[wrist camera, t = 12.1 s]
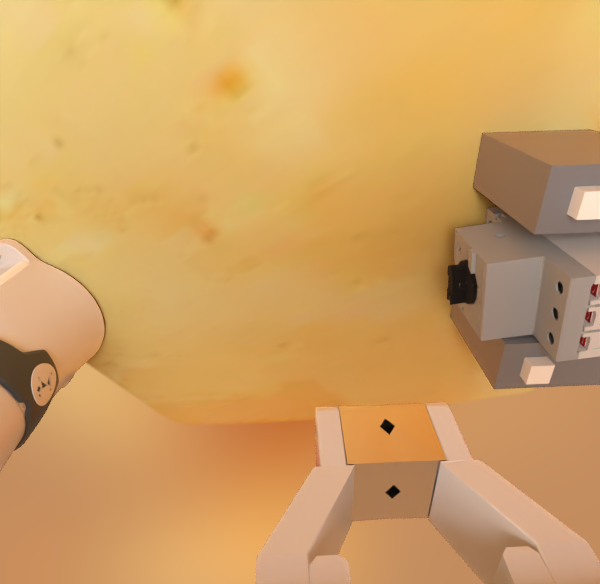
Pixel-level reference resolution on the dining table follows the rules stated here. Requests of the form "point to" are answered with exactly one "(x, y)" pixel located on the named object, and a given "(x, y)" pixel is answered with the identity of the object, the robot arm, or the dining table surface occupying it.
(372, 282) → the dining table surface
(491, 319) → the circuit breaker
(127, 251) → the dining table surface
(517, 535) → the robot arm
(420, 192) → the dining table surface
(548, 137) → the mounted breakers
